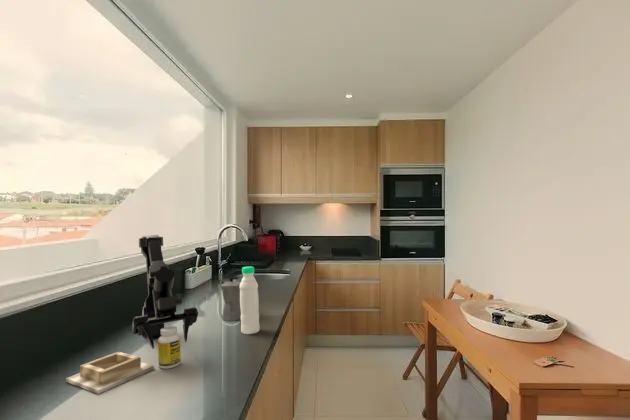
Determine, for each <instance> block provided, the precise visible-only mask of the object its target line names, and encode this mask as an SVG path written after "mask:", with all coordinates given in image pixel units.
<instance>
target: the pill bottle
mask: <svg viewBox="0 0 630 420" xmlns="http://www.w3.org/2000/svg"><path fill="white" fill-rule="evenodd" d="M161 335H162V336H160V337H158V338H157V346H158V347H157V349H158V350H157V351H158V353H157V354H158V367H159V368H160V369H162V370H163V369H164V370H166V369H168V370H169V369H172V368H176V367H177V366H179V365H180V364H181V337H180V335H179V334H178V327H177V326H176V325H175V326H172V325H171V326H166V327H165V326H164V328H162V329H161Z"/></svg>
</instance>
